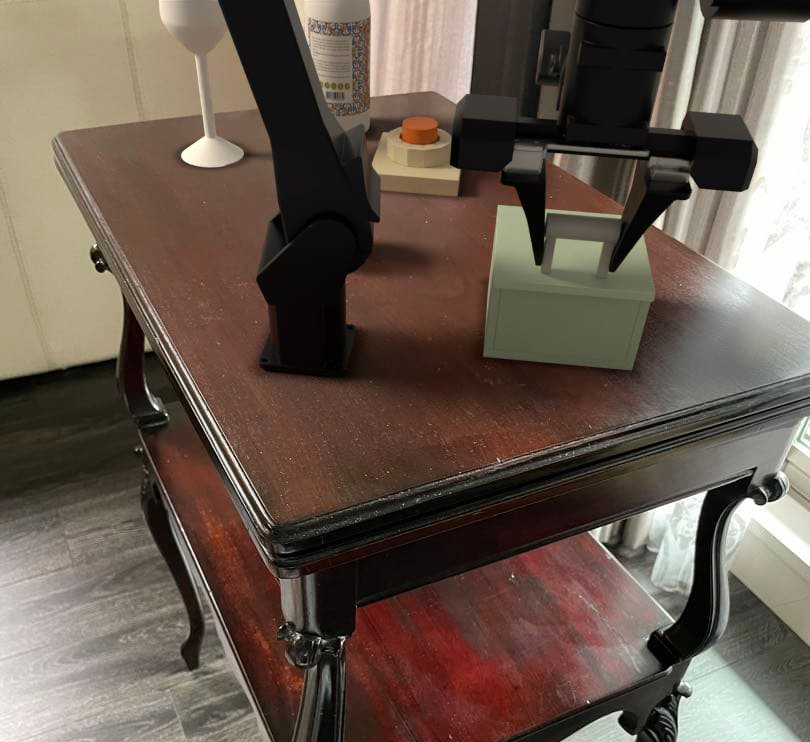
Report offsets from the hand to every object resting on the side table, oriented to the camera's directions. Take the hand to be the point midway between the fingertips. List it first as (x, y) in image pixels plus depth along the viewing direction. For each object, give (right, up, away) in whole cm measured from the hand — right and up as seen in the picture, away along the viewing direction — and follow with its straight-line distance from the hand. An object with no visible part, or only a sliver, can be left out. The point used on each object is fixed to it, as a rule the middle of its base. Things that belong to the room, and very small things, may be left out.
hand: (574, 266), depth 60 cm
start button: (-11, +22, +27) cm, 36 cm away
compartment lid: (0, +2, +4) cm, 4 cm away
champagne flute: (-33, +22, +30) cm, 49 cm away
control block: (-11, +19, +29) cm, 36 cm away
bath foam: (-20, +27, +36) cm, 50 cm away
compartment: (0, -2, +9) cm, 9 cm away
